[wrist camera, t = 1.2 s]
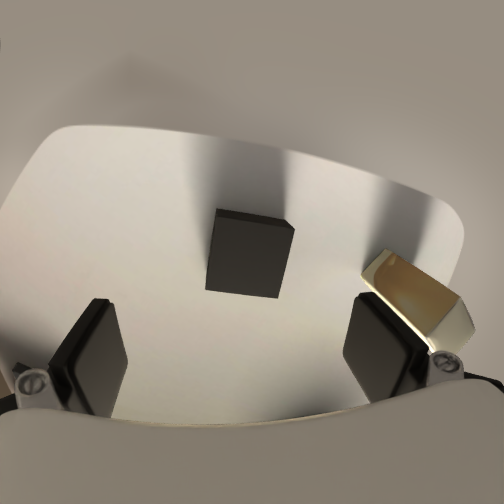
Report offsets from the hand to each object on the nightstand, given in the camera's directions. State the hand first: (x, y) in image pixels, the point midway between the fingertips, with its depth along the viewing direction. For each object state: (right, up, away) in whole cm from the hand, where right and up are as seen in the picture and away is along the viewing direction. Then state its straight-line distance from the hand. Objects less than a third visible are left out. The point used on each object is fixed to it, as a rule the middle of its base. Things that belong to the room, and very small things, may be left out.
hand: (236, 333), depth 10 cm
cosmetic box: (+15, 0, +19) cm, 24 cm away
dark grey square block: (0, +3, +15) cm, 16 cm away
